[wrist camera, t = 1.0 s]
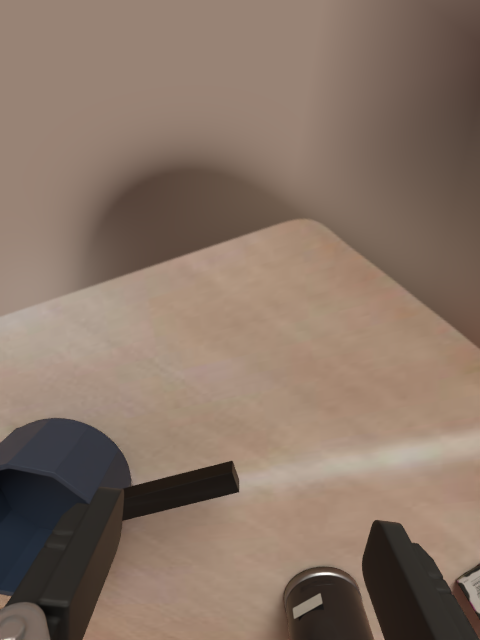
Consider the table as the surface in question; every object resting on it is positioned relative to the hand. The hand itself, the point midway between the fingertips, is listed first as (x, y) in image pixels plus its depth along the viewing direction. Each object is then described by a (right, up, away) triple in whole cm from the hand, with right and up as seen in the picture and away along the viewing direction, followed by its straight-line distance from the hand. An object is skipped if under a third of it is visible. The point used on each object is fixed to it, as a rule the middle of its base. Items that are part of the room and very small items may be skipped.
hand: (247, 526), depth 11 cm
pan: (-14, -10, +29) cm, 33 cm away
